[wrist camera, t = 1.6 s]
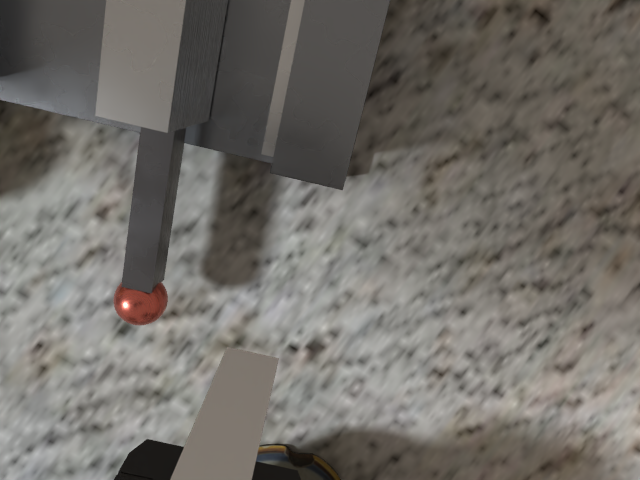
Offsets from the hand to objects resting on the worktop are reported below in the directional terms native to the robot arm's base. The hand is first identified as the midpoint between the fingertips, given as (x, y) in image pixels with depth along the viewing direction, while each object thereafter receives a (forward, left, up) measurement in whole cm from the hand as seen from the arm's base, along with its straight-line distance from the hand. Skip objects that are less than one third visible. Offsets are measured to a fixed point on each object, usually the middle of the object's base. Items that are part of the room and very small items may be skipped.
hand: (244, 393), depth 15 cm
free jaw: (-7, +4, -15) cm, 18 cm away
